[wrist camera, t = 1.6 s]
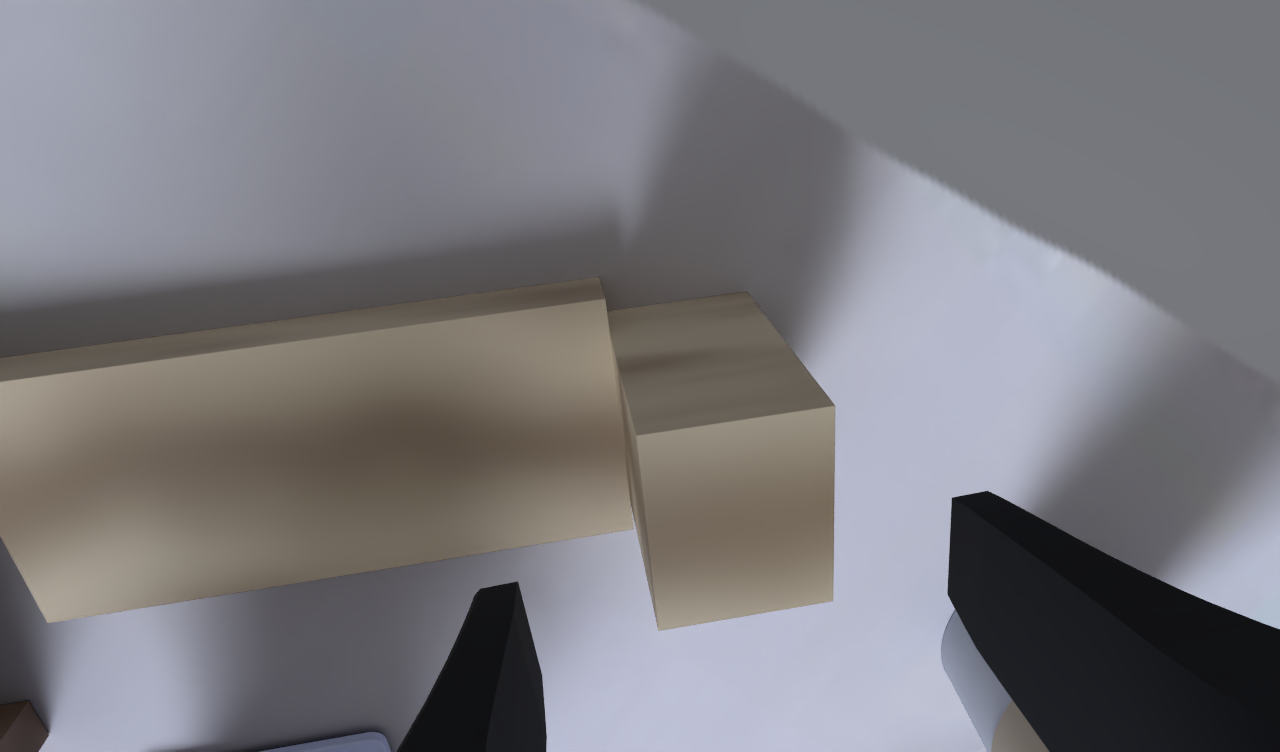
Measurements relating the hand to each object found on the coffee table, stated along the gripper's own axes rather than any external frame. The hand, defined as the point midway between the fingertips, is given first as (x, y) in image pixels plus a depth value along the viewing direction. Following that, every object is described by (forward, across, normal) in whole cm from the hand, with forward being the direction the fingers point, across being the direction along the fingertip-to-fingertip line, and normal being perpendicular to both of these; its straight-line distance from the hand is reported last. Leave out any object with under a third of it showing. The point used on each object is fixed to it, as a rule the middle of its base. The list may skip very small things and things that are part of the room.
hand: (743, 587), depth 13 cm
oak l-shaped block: (+10, +7, +1) cm, 13 cm away
